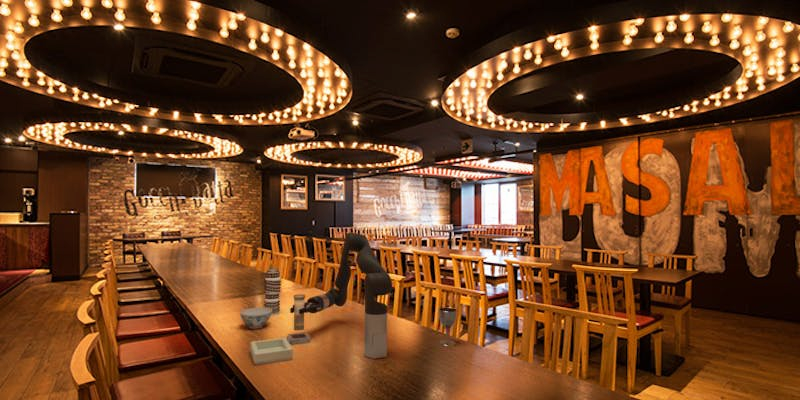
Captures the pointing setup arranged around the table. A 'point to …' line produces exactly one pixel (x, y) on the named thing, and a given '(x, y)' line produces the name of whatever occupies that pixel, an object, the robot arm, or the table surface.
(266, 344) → the tray
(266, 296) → the decorative candle
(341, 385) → the table surface
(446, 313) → the wine glass
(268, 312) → the chinaware
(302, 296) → the stop peg
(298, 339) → the stop collar
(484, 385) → the table surface
